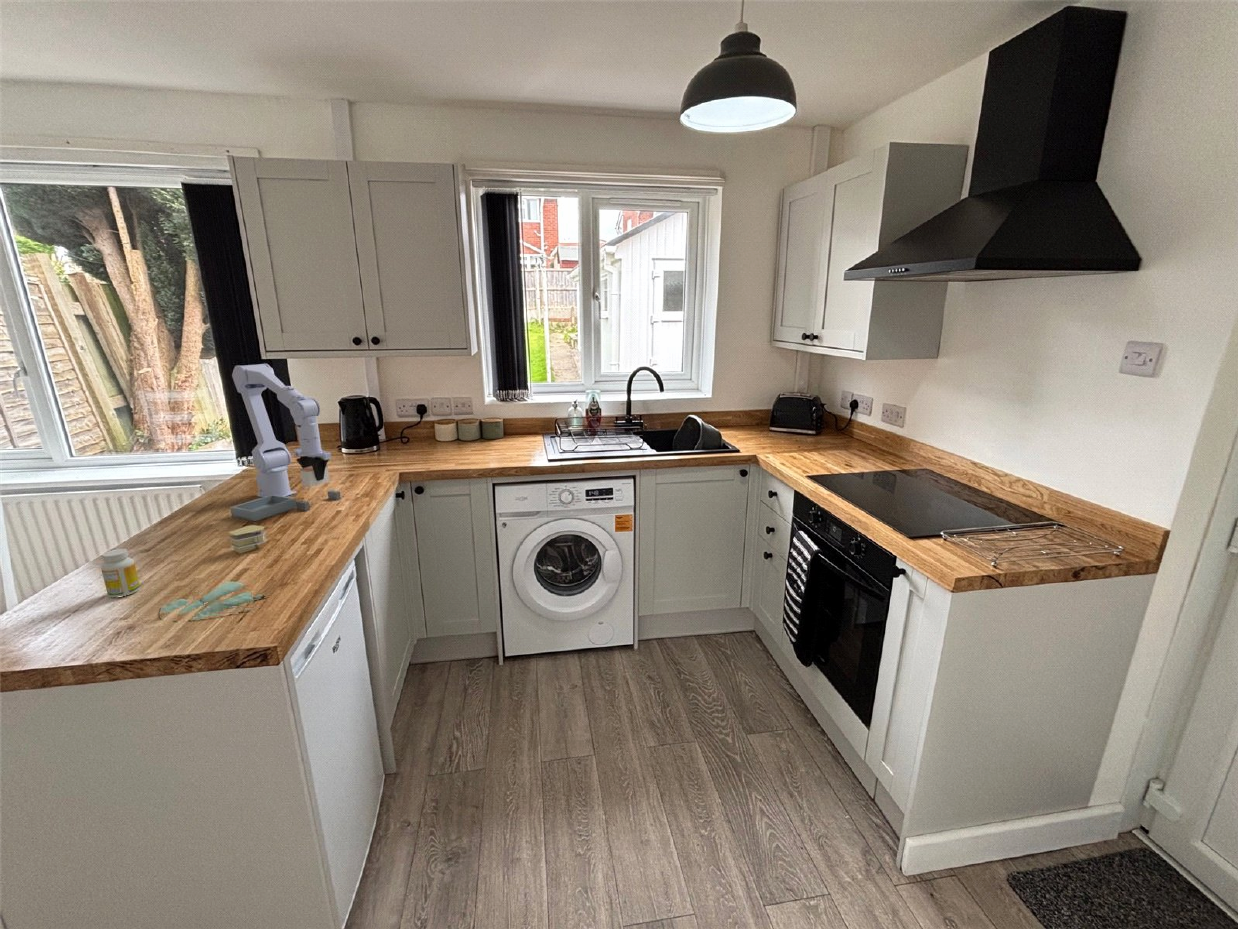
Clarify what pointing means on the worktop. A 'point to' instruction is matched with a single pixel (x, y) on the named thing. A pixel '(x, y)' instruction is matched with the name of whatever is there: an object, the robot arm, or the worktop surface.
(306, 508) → the grey blocks
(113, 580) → the supplement bottle
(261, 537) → the beige layered stack
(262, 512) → the tray
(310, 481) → the pink and gray block
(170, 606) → the pale green flat pieces
